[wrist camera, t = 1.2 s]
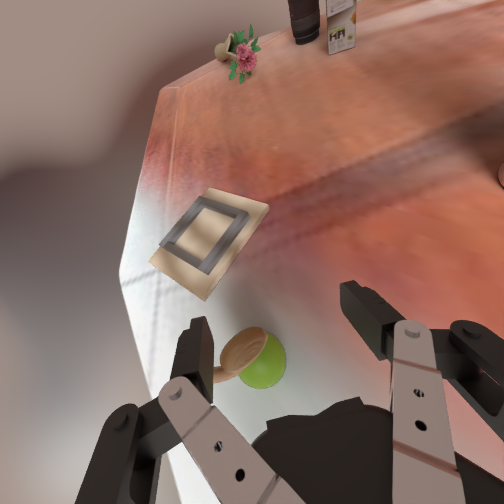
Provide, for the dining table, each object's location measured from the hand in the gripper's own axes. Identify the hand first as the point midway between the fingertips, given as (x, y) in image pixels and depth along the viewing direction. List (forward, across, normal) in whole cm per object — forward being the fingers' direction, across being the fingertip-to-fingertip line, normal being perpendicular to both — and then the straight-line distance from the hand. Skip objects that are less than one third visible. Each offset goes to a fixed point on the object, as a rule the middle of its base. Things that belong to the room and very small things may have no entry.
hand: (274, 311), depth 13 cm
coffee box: (+62, -36, -27) cm, 77 cm away
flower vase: (+78, -11, -29) cm, 84 cm away
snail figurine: (+8, +2, +14) cm, 16 cm away
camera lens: (+74, -32, -33) cm, 87 cm away
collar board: (+27, +6, +4) cm, 28 cm away
